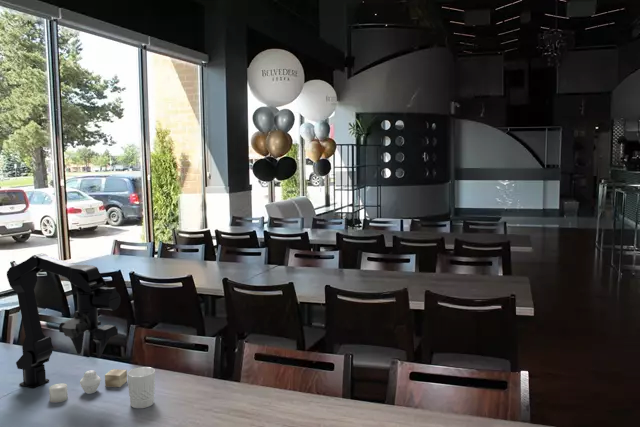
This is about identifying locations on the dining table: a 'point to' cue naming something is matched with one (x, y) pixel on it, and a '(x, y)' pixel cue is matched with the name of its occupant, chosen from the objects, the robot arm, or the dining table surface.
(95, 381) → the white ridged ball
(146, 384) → the white cup
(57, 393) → the white rounded lump
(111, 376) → the maple block
